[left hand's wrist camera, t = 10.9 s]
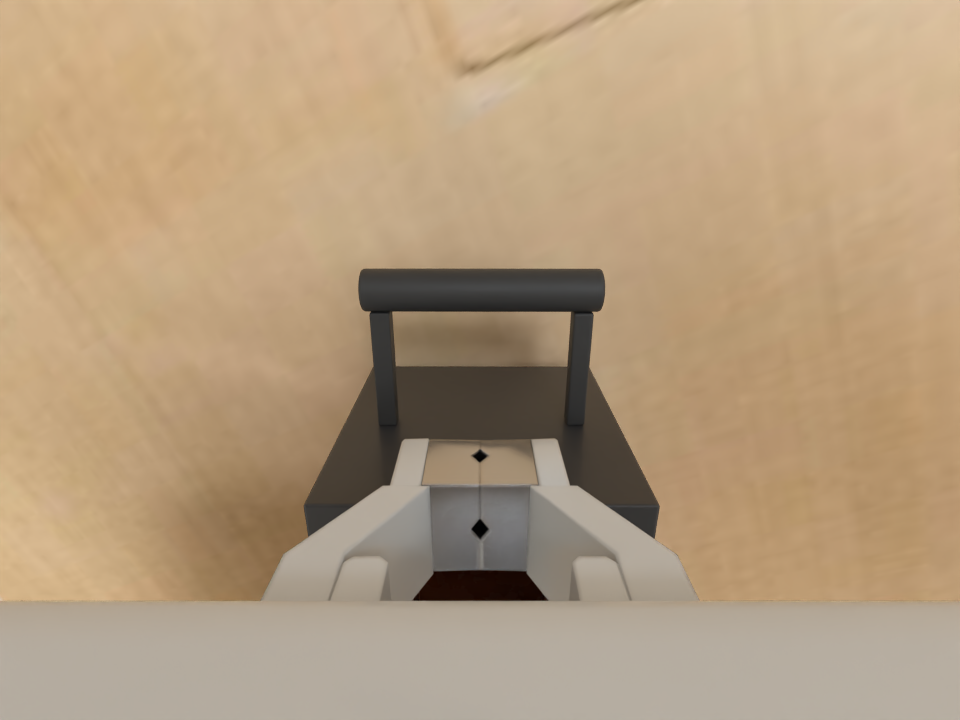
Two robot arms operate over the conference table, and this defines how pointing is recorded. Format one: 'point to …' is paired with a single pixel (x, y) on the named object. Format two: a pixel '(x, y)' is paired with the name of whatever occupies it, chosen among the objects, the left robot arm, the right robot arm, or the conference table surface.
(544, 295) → the drawer
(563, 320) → the conference table surface
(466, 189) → the conference table surface
